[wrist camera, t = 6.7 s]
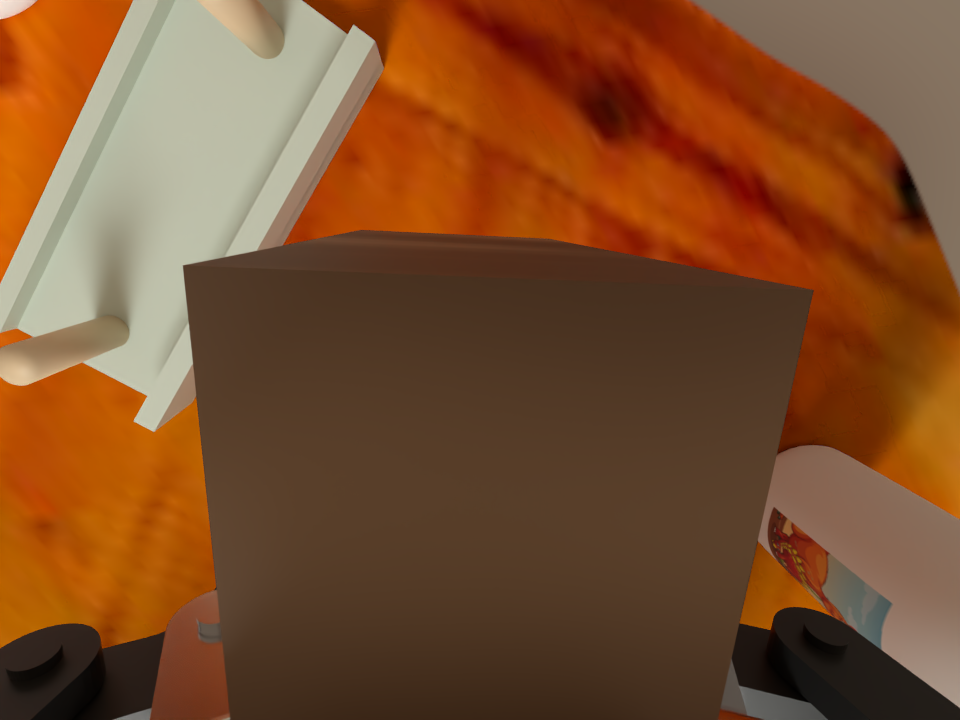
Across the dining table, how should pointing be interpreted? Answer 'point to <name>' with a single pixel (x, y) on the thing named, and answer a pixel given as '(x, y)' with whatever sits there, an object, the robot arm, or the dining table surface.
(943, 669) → the milk bottle
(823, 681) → the robot arm
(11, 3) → the jar
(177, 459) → the dining table surface
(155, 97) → the ledge
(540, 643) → the wooden block
